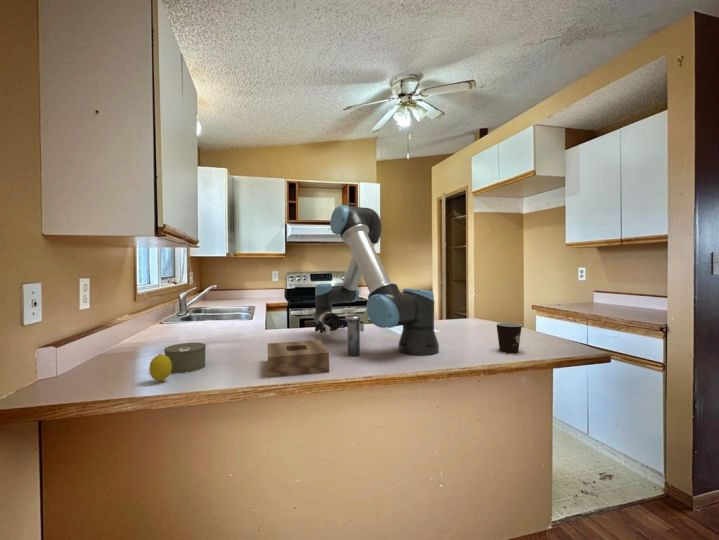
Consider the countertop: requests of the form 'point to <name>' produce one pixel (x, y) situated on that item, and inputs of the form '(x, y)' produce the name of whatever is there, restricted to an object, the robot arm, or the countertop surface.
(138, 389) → the countertop surface
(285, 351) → the block
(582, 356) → the countertop surface
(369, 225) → the robot arm
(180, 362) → the can
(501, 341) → the coffee mug
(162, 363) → the lemon
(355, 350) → the pin
